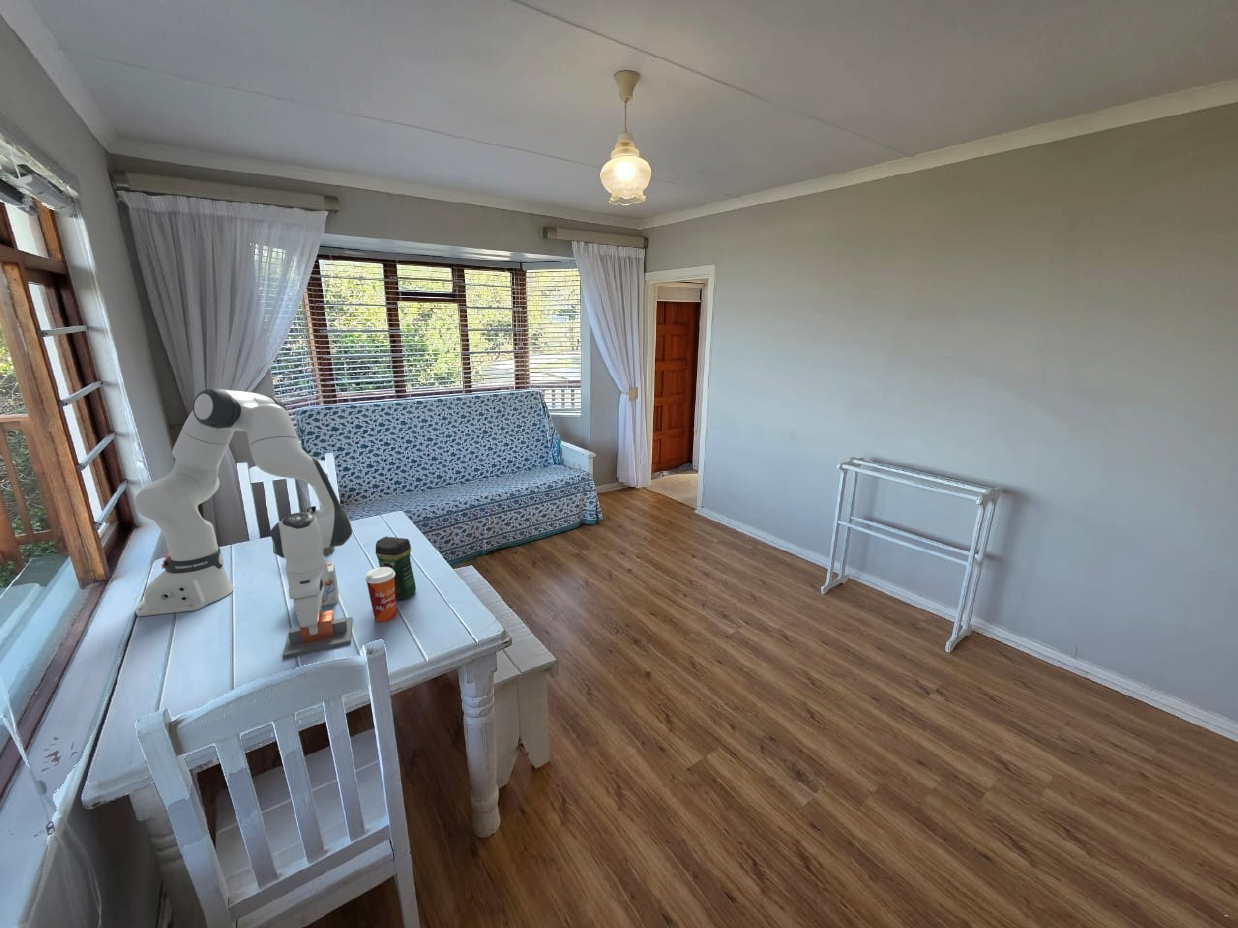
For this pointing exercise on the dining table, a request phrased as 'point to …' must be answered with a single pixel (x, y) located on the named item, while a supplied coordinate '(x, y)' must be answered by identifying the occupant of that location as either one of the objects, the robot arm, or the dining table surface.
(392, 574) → the paper cup
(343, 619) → the stand
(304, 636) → the block
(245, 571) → the dining table surface
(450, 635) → the dining table surface
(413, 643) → the dining table surface
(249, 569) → the dining table surface
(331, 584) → the light bulb box
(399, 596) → the coffee jar
